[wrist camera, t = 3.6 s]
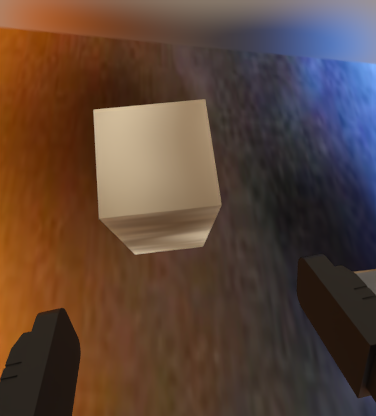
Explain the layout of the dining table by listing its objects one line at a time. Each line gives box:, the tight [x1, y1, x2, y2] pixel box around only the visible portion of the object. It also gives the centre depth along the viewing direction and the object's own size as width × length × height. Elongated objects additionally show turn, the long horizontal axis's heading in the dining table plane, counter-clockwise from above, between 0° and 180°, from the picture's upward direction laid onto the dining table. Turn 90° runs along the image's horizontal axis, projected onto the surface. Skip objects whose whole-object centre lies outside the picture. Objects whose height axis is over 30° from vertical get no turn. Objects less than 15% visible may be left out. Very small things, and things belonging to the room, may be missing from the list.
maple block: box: [93, 99, 221, 255], centre depth 17 cm, size 4×4×10 cm
